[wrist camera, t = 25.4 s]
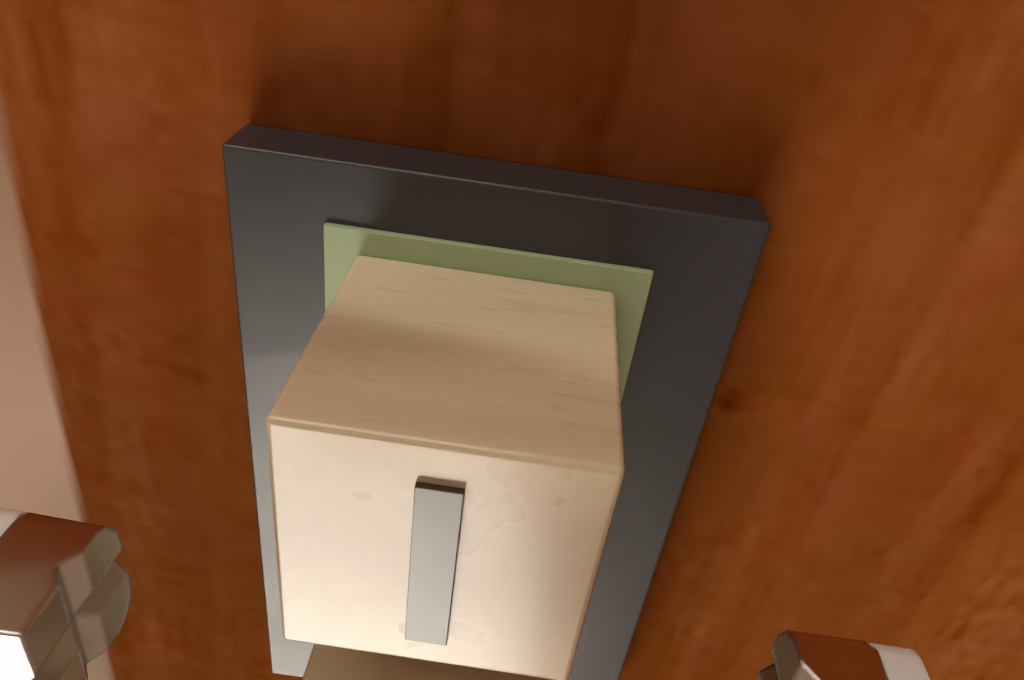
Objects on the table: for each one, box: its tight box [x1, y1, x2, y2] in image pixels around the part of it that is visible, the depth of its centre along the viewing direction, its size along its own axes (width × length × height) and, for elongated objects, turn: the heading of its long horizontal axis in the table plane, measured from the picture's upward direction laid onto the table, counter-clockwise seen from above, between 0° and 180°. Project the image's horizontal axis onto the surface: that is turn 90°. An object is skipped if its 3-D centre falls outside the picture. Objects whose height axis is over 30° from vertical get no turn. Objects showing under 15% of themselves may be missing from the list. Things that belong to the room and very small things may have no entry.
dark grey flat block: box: [222, 124, 771, 680], centre depth 15 cm, size 13×8×1 cm, turn 173°
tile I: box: [266, 256, 625, 680], centre depth 11 cm, size 4×4×4 cm
